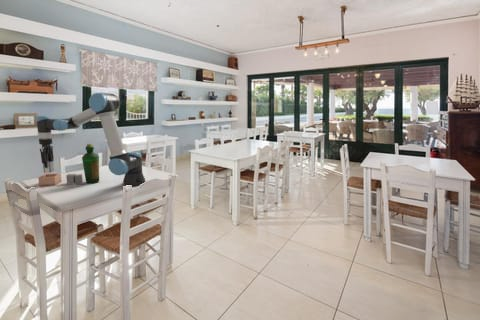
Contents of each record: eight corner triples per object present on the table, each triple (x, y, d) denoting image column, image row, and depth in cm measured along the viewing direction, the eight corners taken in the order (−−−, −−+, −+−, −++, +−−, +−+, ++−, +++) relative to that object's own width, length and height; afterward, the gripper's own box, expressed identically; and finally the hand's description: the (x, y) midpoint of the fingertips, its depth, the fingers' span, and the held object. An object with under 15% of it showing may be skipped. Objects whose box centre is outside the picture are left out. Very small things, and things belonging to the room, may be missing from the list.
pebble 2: (82, 182, 198) (82, 174, 197) (81, 183, 195) (81, 175, 193) (76, 182, 197) (75, 174, 196) (75, 184, 193) (74, 175, 192)
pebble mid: (76, 182, 197) (75, 173, 196) (74, 183, 193) (73, 175, 192) (69, 182, 197) (68, 173, 195) (67, 184, 193) (66, 175, 191)
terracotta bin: (61, 181, 199) (60, 173, 198) (55, 185, 189) (54, 176, 188) (46, 181, 197) (45, 173, 196) (39, 185, 187) (38, 177, 186)
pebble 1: (54, 170, 194) (53, 161, 193) (51, 172, 190) (50, 162, 188) (47, 171, 193) (45, 161, 192) (43, 172, 189) (42, 162, 187)
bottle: (101, 183, 196) (98, 144, 191) (84, 185, 191) (80, 145, 186) (100, 179, 205) (97, 143, 200) (84, 181, 200) (80, 143, 195)
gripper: (45, 136, 194) (49, 168, 199) (32, 140, 177) (36, 174, 182) (57, 136, 196) (60, 168, 200) (45, 140, 179) (49, 174, 184)
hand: (49, 171), depth 191 cm, fingers closed on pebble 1, 4 cm apart
